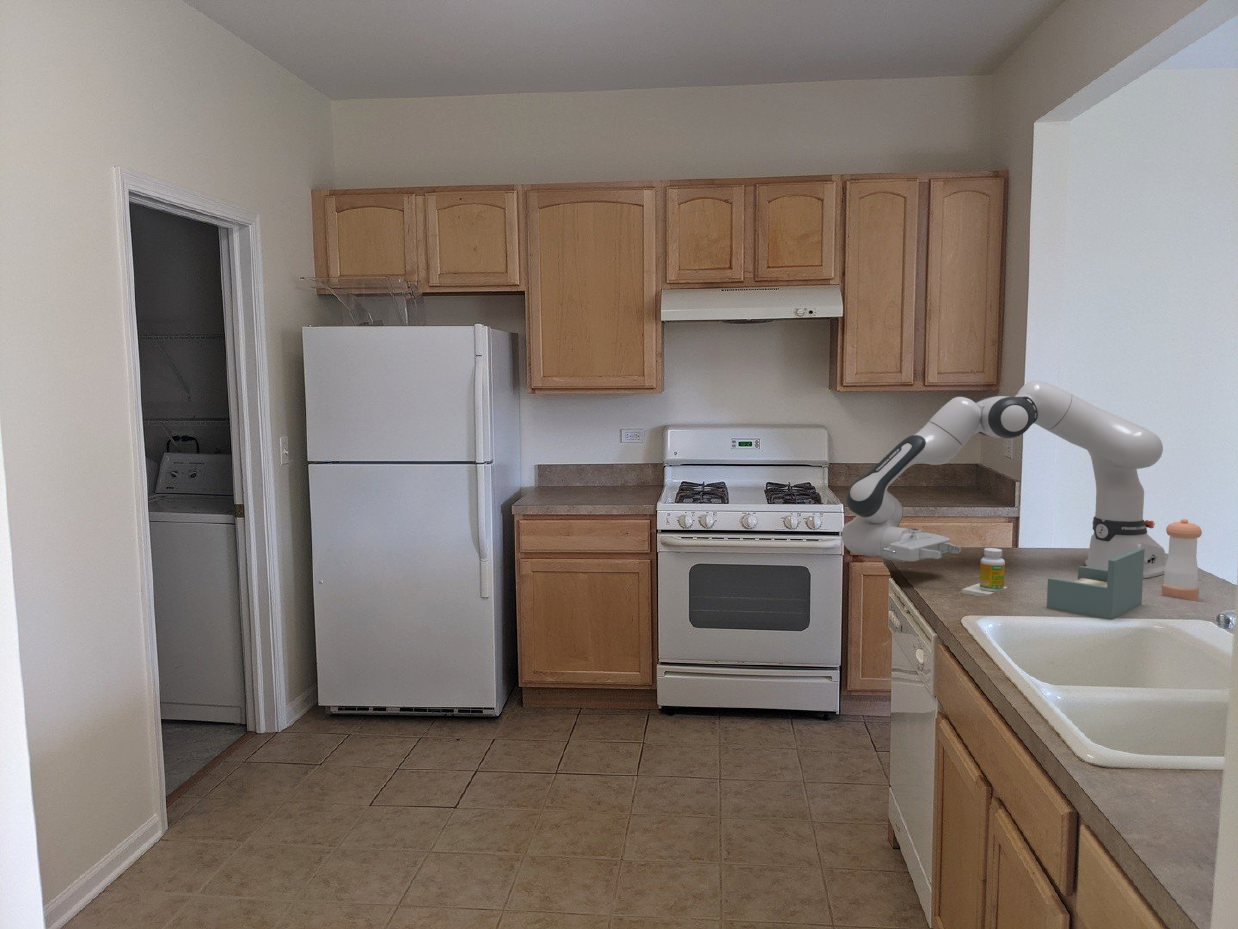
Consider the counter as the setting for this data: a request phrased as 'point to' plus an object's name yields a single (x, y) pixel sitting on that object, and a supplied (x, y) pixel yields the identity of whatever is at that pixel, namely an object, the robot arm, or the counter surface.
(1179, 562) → the pepper shaker
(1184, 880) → the counter surface
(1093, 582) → the birch offcut top
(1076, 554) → the counter surface
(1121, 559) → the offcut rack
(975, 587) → the plate
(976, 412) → the robot arm
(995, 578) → the supplement bottle
